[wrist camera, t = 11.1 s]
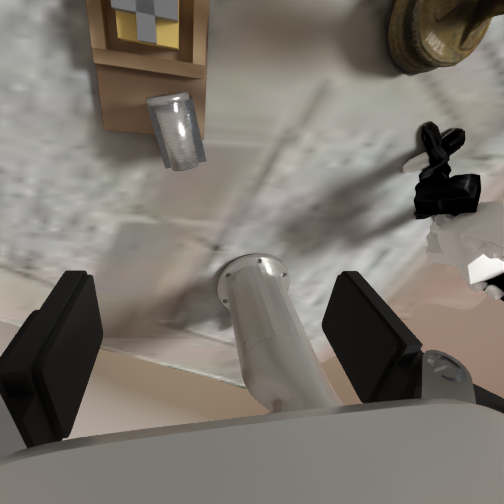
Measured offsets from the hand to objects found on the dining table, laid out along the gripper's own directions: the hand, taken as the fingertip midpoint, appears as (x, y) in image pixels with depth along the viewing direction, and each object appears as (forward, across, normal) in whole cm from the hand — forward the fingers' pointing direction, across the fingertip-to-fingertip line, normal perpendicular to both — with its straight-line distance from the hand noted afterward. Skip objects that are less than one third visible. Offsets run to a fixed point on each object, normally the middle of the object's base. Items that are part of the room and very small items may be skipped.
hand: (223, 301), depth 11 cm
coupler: (+28, +5, -12) cm, 31 cm away
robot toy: (+30, -35, +2) cm, 46 cm away
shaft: (+29, +3, -3) cm, 29 cm away
